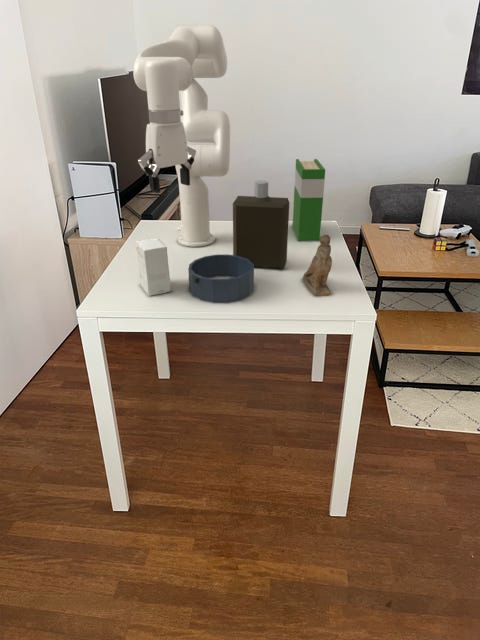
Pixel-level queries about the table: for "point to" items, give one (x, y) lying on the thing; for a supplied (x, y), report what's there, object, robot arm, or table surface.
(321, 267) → the brown carved statuette
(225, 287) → the blue-grey ring
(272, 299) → the table surface
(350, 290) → the table surface
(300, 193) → the hardback book
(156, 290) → the small box
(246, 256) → the bottle
